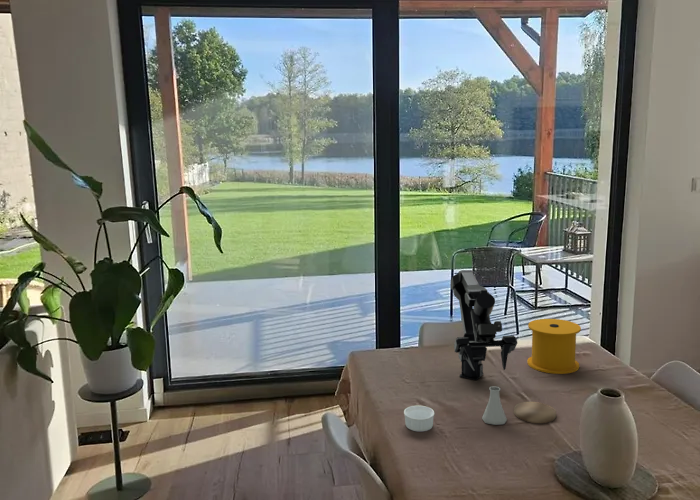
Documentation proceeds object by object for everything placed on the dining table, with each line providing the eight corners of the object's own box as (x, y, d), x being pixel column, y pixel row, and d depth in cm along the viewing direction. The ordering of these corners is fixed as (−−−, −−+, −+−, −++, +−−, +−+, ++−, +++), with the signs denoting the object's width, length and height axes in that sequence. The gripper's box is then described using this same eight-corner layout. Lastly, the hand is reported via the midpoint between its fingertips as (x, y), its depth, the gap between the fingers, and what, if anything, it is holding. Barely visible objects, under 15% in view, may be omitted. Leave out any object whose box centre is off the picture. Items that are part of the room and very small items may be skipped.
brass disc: (508, 416, 173) (508, 413, 173) (521, 402, 183) (521, 398, 182) (548, 427, 166) (549, 423, 166) (560, 411, 176) (561, 407, 175)
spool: (583, 360, 215) (585, 322, 212) (573, 377, 200) (574, 336, 197) (534, 353, 225) (535, 315, 222) (521, 368, 210) (522, 328, 207)
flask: (507, 426, 167) (508, 394, 165) (482, 425, 169) (482, 392, 167) (506, 415, 174) (506, 384, 172) (481, 413, 176) (481, 382, 174)
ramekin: (437, 420, 172) (437, 407, 172) (431, 434, 164) (431, 420, 163) (407, 417, 175) (407, 403, 174) (400, 430, 167) (400, 416, 166)
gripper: (455, 312, 178) (462, 359, 170) (516, 310, 178) (526, 357, 169) (451, 329, 188) (457, 374, 179) (509, 327, 187) (518, 372, 178)
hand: (489, 369), depth 176 cm, fingers open, 9 cm apart
